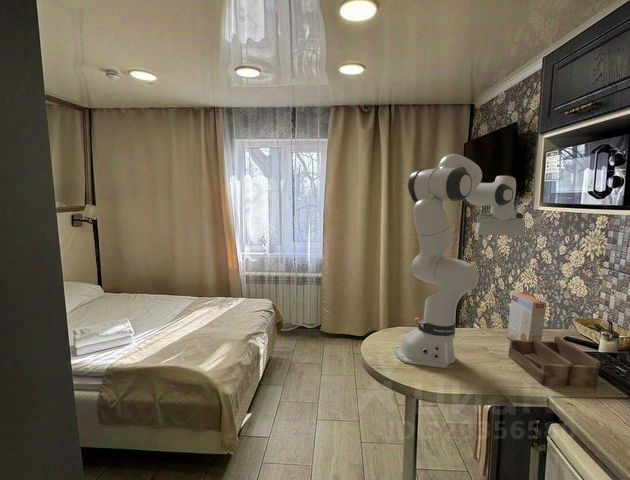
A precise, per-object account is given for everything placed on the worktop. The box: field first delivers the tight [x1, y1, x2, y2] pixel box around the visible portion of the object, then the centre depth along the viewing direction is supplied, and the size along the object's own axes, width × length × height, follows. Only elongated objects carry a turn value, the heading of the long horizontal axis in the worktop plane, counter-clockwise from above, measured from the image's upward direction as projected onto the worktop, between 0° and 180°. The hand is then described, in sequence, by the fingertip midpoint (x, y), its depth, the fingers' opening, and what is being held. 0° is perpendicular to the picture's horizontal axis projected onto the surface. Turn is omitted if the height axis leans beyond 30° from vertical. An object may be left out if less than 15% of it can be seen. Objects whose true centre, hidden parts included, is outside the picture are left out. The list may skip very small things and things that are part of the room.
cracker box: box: [506, 292, 547, 341], centre depth 146 cm, size 14×6×21 cm, turn 2°
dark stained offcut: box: [523, 354, 552, 369], centre depth 122 cm, size 4×8×2 cm, turn 16°
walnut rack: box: [507, 335, 601, 388], centre depth 122 cm, size 18×20×10 cm
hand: (498, 245), depth 151 cm, fingers open, 8 cm apart
